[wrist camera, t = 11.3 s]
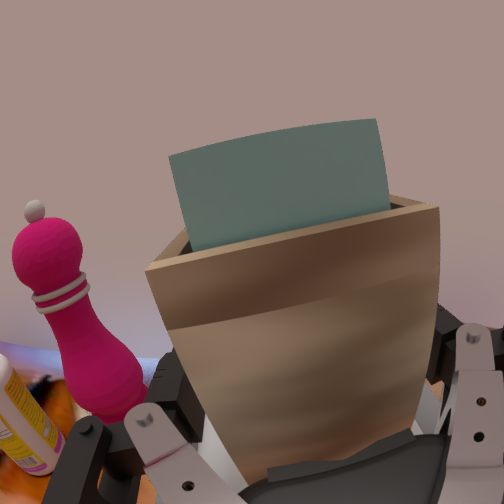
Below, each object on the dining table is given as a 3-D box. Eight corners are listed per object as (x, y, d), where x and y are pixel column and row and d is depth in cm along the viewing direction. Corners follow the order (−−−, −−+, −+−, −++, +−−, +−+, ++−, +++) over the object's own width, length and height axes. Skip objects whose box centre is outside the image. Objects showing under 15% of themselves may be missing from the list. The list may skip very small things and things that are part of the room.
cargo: (209, 305, 6) (168, 156, 5) (222, 250, 9) (200, 162, 9) (394, 262, 5) (375, 118, 5) (337, 225, 9) (321, 137, 8)
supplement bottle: (49, 423, 19) (-17, 317, 15) (80, 448, 16) (-4, 326, 12) (14, 456, 13) (-64, 349, 9) (40, 490, 10) (-63, 370, 7)
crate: (273, 520, 8) (144, 271, 5) (266, 441, 14) (195, 217, 10) (385, 492, 8) (439, 206, 4) (356, 420, 13) (344, 185, 10)
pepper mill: (153, 380, 25) (80, 186, 20) (168, 426, 19) (63, 180, 13) (95, 400, 23) (11, 215, 17) (97, 448, 16) (-24, 220, 11)
